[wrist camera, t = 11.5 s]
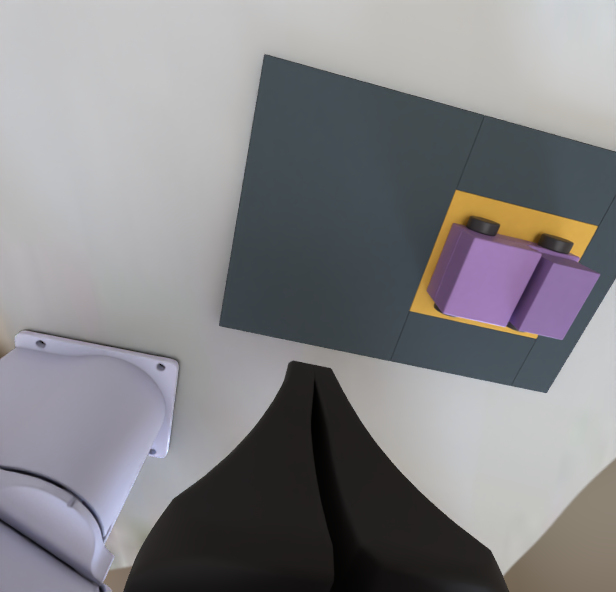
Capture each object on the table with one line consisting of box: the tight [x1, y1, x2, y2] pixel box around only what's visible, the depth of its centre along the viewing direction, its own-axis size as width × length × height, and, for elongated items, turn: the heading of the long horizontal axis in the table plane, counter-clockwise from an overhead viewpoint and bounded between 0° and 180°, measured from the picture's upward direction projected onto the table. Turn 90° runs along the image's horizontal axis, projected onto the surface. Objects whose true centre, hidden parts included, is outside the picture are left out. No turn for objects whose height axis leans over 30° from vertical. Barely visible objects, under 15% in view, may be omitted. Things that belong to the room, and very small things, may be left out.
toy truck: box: [427, 216, 600, 340], centre depth 20 cm, size 6×5×3 cm
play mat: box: [219, 54, 616, 393], centre depth 21 cm, size 21×14×1 cm, turn 77°
